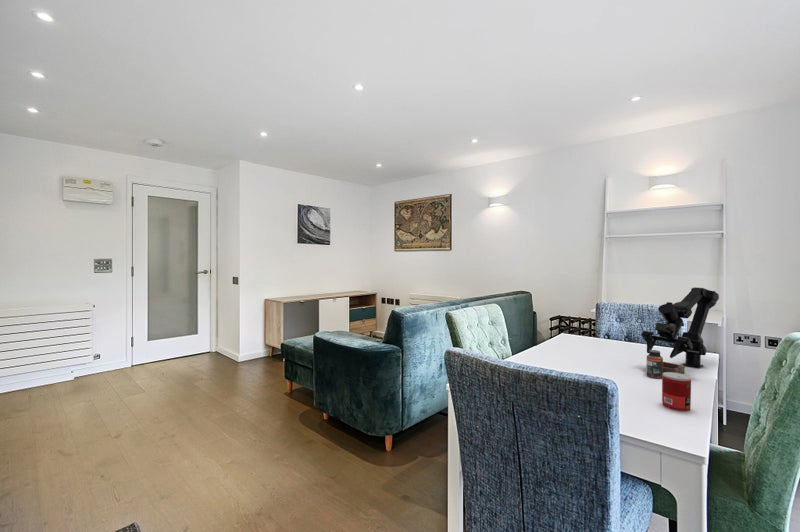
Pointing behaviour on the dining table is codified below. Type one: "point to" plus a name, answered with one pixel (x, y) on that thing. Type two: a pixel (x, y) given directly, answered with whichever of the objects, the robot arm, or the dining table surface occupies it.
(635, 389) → the dining table surface
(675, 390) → the canned food
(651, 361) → the supplement bottle
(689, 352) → the robot arm
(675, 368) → the walnut socket holder
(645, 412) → the dining table surface
